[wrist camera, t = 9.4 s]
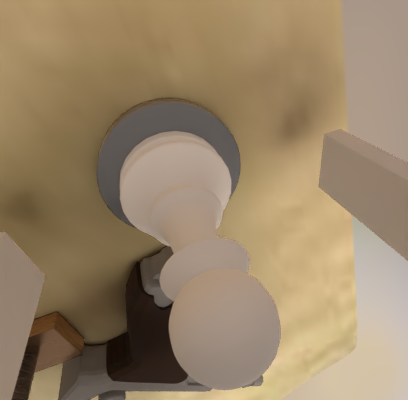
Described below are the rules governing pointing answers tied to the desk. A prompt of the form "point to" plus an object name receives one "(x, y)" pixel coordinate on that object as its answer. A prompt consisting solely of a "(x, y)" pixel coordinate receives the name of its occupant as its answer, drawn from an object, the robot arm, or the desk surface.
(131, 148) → the dish slate
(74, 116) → the desk surface
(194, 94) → the desk surface
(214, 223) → the chess pawn
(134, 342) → the handgun
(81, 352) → the balance
